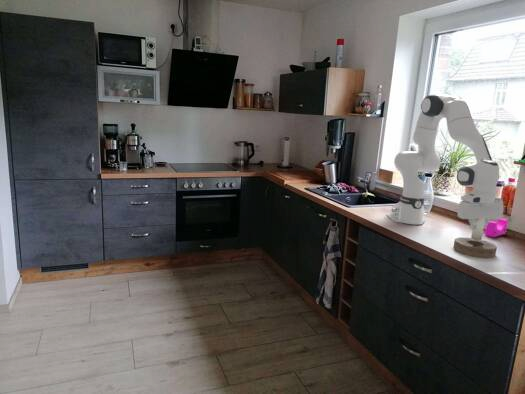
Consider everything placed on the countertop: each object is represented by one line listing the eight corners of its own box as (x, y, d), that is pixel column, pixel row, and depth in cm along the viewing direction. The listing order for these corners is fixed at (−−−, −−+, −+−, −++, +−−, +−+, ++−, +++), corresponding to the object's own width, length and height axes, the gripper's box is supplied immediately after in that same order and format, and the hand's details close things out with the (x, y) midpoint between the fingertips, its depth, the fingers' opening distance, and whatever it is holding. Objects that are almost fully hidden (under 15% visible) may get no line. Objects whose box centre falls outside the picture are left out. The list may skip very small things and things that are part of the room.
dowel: (469, 237, 174) (472, 215, 173) (476, 237, 175) (480, 215, 173) (475, 240, 171) (479, 217, 169) (483, 240, 171) (487, 217, 170)
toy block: (493, 230, 215) (495, 217, 213) (505, 233, 210) (508, 220, 208) (480, 234, 206) (482, 220, 204) (492, 237, 201) (495, 223, 200)
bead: (446, 245, 180) (447, 237, 180) (476, 245, 184) (477, 237, 183) (470, 258, 165) (472, 249, 164) (503, 257, 168) (505, 248, 167)
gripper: (497, 196, 175) (492, 226, 177) (457, 195, 170) (452, 226, 173) (509, 199, 169) (503, 230, 171) (467, 198, 164) (462, 230, 167)
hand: (477, 228), depth 172 cm, fingers closed on dowel, 4 cm apart
